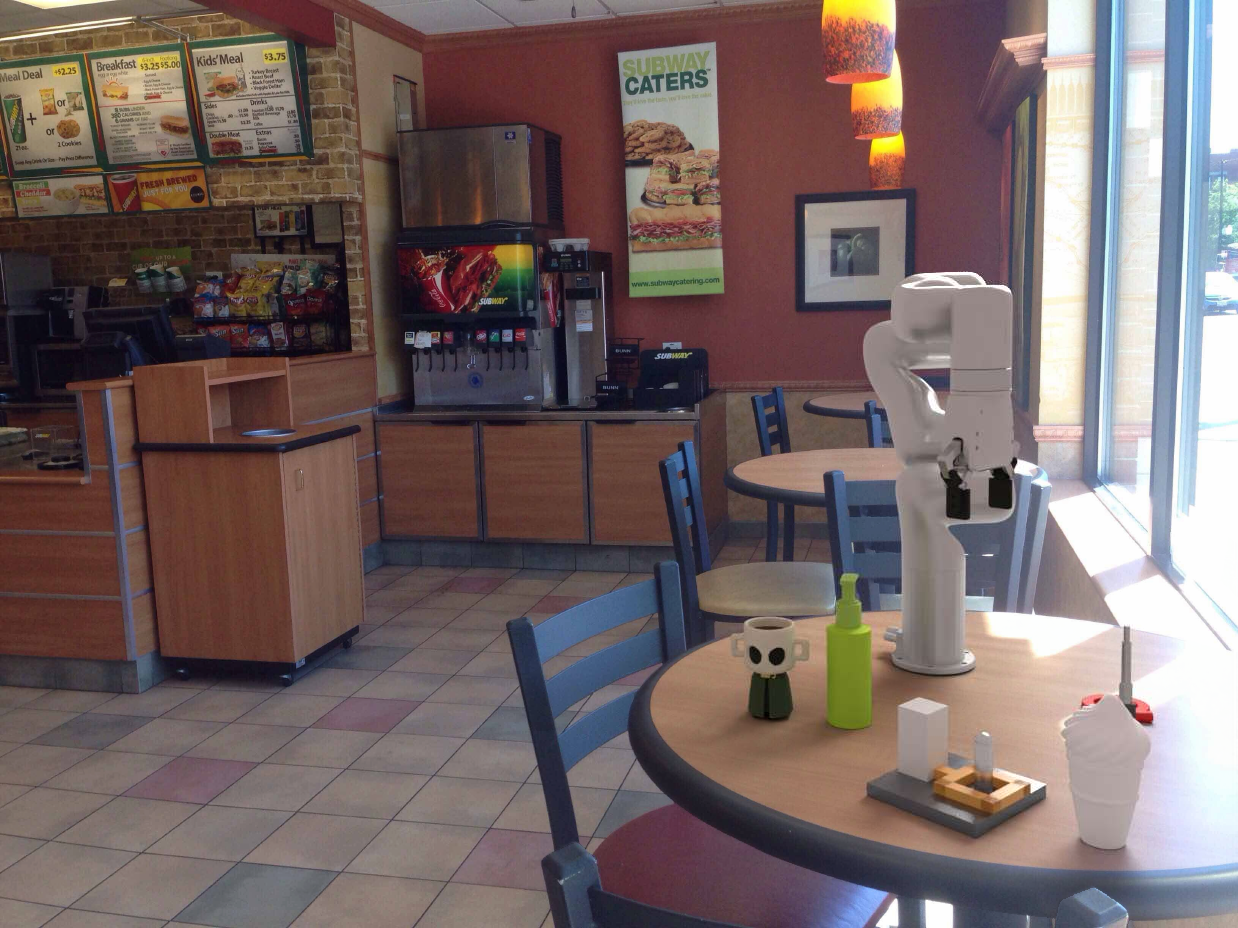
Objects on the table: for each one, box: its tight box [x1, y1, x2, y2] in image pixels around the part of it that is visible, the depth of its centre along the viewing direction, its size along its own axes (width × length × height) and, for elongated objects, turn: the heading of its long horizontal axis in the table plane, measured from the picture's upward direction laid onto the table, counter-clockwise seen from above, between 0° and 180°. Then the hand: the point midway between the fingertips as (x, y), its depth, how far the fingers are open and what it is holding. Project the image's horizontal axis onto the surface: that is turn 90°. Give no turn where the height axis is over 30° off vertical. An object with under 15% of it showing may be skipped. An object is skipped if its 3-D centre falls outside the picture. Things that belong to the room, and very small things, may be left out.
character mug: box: [730, 616, 810, 719], centre depth 147 cm, size 11×7×13 cm, turn 72°
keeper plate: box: [866, 731, 1047, 839], centre depth 120 cm, size 14×14×8 cm
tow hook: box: [1081, 625, 1154, 723], centre depth 144 cm, size 8×13×9 cm
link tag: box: [897, 696, 1031, 814], centre depth 119 cm, size 13×7×8 cm, turn 39°
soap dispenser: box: [825, 572, 873, 730], centre depth 143 cm, size 6×7×20 cm
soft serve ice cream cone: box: [1060, 692, 1152, 850], centre depth 108 cm, size 8×8×16 cm
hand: (979, 513), depth 139 cm, fingers open, 9 cm apart
